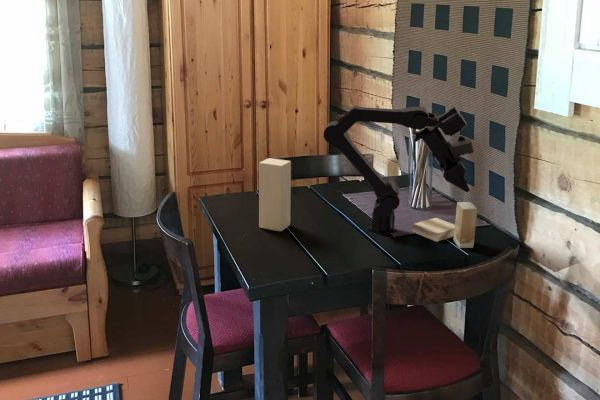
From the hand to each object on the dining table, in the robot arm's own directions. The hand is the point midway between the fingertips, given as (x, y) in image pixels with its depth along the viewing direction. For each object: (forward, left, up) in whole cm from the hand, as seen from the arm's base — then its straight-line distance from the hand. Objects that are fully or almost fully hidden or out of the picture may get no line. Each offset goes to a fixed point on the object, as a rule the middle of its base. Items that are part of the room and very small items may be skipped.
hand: (466, 186), depth 204 cm
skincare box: (-6, -6, -16) cm, 17 cm away
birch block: (-6, +5, -16) cm, 18 cm away
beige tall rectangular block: (-43, +38, -16) cm, 60 cm away
